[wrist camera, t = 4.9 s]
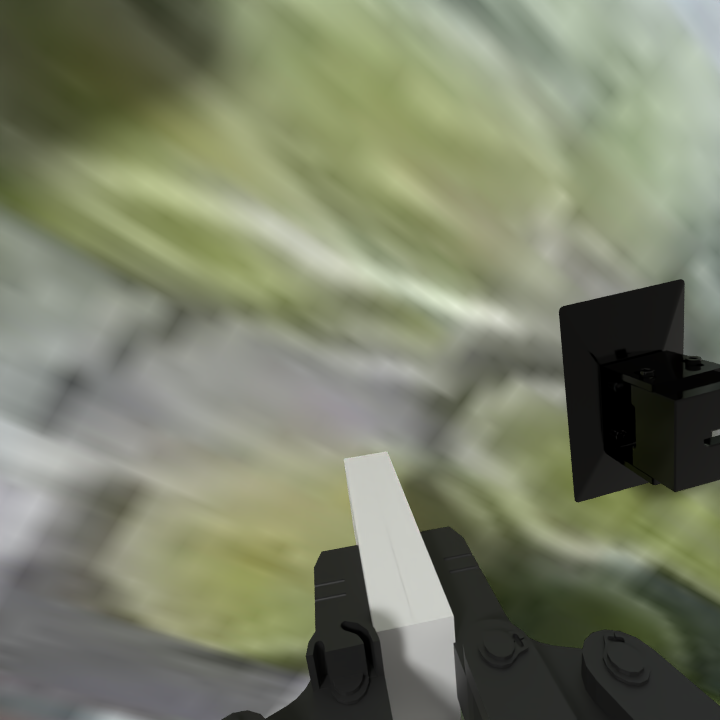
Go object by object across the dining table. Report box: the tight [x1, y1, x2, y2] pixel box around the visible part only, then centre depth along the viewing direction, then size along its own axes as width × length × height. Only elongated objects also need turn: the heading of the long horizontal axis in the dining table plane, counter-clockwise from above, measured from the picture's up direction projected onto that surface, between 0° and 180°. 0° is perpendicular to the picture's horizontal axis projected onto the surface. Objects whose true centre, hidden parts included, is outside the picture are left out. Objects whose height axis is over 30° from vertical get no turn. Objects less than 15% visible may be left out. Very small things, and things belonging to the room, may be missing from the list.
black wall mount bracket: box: [559, 279, 720, 502], centre depth 16 cm, size 12×7×5 cm, turn 12°
